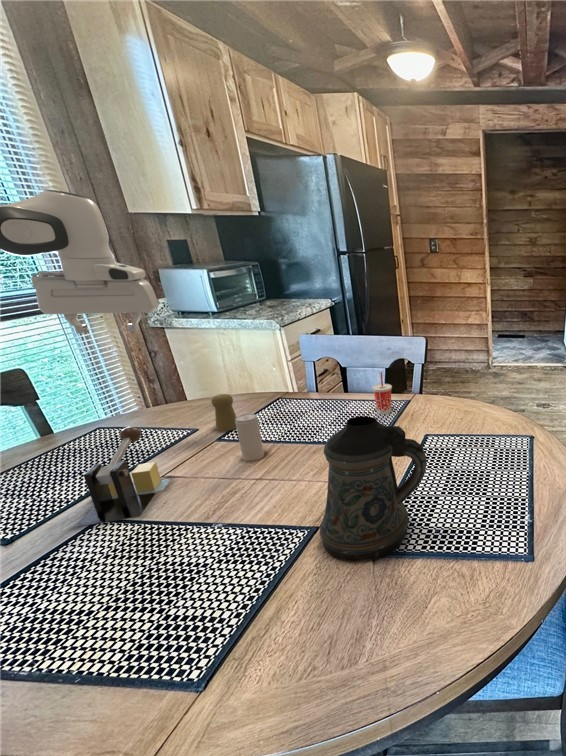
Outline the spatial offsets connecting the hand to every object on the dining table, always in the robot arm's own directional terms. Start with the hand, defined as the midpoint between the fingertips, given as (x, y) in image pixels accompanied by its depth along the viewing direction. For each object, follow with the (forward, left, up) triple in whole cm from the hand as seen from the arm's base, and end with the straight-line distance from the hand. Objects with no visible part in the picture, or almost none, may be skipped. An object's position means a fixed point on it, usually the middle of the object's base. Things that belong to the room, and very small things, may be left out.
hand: (109, 332), depth 97 cm
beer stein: (+53, -50, -33) cm, 80 cm away
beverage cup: (+61, +12, -33) cm, 70 cm away
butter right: (+7, -18, -32) cm, 38 cm away
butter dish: (+4, -18, -33) cm, 38 cm away
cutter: (+4, -26, -33) cm, 42 cm away
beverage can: (+26, -10, -33) cm, 43 cm away
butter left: (+1, -18, -32) cm, 37 cm away
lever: (+4, -19, -24) cm, 31 cm away
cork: (+16, +12, -33) cm, 39 cm away
